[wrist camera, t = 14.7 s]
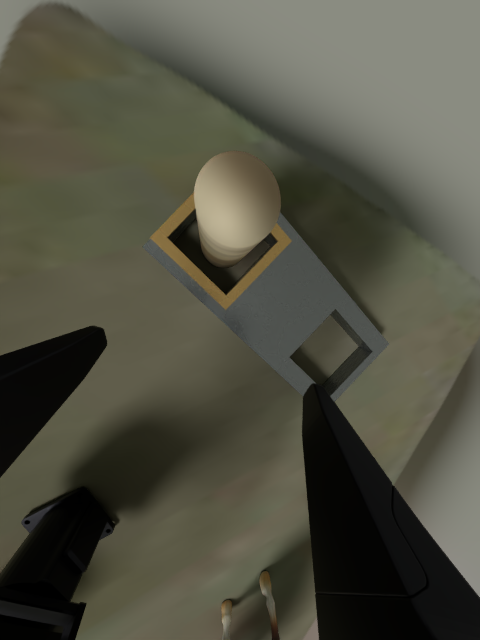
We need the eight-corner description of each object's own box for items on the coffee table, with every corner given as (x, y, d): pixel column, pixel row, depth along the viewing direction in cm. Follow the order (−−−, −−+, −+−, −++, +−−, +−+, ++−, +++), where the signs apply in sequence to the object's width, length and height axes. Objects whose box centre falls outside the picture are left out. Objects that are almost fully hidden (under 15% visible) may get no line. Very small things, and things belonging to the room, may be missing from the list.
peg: (227, 277, 20) (245, 264, 10) (191, 248, 19) (175, 203, 9) (253, 242, 20) (297, 197, 10) (219, 212, 19) (231, 129, 9)
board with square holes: (374, 339, 24) (390, 344, 22) (313, 404, 24) (323, 415, 22) (229, 168, 19) (232, 152, 16) (149, 251, 18) (141, 246, 16)
